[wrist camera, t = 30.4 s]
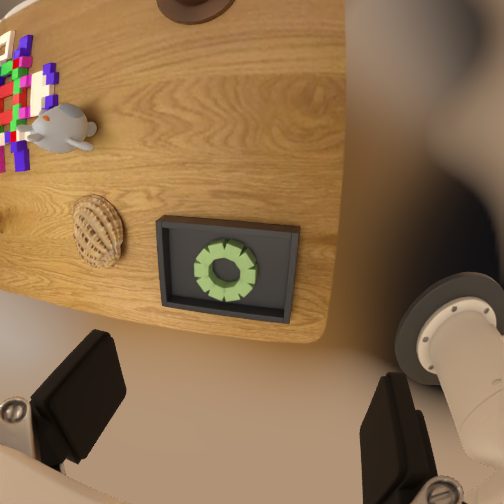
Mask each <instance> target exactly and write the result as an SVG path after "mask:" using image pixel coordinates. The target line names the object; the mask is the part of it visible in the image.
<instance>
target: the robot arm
mask: <svg viewBox="0 0 504 504" xmlns="http://www.w3.org/2000/svg"><path fill="white" fill-rule="evenodd" d="M416 351H417V355H418V358H419V361H420V363H421V365H422V366H423V367H424V368H425V369H426V370H427V371H429V372H431V373H434V374H437V376H438V379H439V381H440V384H441V386H442V389H443V392H444V394H445V397H446V400H447V402H448V405H449V408H450V411H451V414H452V416H453V419H454V422H455V425H456V428H457V431H458V434H459V438H460V440H461V443H462V446H463V448H464V451H465V452H466V454H467V455H468V456H469V457H470V458H471V459H472V460H474V461H475V462H477V463H480V464H483V465H487V466H491V467H495V472H494V473H493V474H492V475H491V476H490V477H489V478H488V479H486V480H485V481H483V482H482V483H481V484H480V485H478V486H476V487H475V488H473V489H472V490H470V491H468V492H467V493H465V494H464V492H463V489H462V486H461V485H460V483H458V481H456V480H455V479H454V478H451V477H449V476H438V474H437V469H436V465H435V460H434V456H433V452H432V448H431V443H430V439H429V435H428V431H427V427H426V424H425V420H424V416H423V414H422V412H421V411H420V410H415V407H414V403H413V399H412V396H411V392H410V389H409V385H408V382H407V378H406V375H405V373H397V372H388V373H387V374H386V376H382V377H381V378H380V381H379V383H378V386H377V388H376V391H375V394H374V396H373V398H372V401H371V404H370V406H369V408H368V411H367V413H366V415H365V418H364V420H363V422H362V425H361V428H360V446H361V463H362V486H363V504H504V335H502V336H501V334H500V333H499V332H498V330H497V329H496V316H495V313H494V311H493V309H492V308H491V307H490V305H489V304H488V303H487V302H486V301H484V300H483V299H481V298H478V297H471V296H467V297H461V298H458V299H454V300H452V301H450V302H448V303H446V304H444V305H443V306H442V307H440V308H439V309H437V310H436V311H435V312H434V313H433V314H432V315H431V316H430V317H429V319H428V320H427V321H426V322H425V324H424V326H423V327H422V329H421V331H420V333H419V336H418V339H417V344H416ZM125 395H126V386H125V382H124V379H123V375H122V371H121V367H120V363H119V360H118V355H117V351H116V347H115V343H114V339H113V338H112V337H111V336H110V334H109V333H108V332H104V331H100V330H96V329H94V330H92V332H90V334H88V335H87V336H86V337H85V339H84V340H83V341H82V342H81V343H80V344H79V345H78V346H77V347H76V348H75V349H74V350H73V351H72V352H71V353H70V354H69V355H68V356H67V357H66V359H65V360H64V361H63V362H62V363H61V364H60V365H59V366H58V367H57V368H56V369H55V370H54V371H53V373H52V374H51V375H50V376H49V377H48V378H47V379H46V380H45V381H44V382H43V384H42V385H41V386H40V387H39V388H38V389H37V390H36V391H35V393H34V394H33V395H32V396H31V399H32V400H31V401H30V402H28V401H27V400H26V399H24V398H22V397H11V398H8V399H6V400H4V401H3V402H2V403H1V404H0V504H130V503H127V502H125V501H122V500H119V499H117V498H114V497H112V496H109V495H107V494H104V493H102V492H100V491H98V490H95V489H93V488H91V487H88V486H87V485H84V484H82V483H80V482H78V481H76V480H74V479H72V478H70V477H68V476H66V474H65V469H64V464H63V462H64V460H65V459H66V458H67V459H68V460H70V461H72V462H74V463H76V464H79V462H80V461H81V459H85V458H86V457H87V456H88V454H89V452H90V451H91V449H92V447H93V446H94V444H95V443H96V441H97V440H98V438H99V437H100V435H101V433H102V432H103V430H104V429H105V427H106V426H107V424H108V422H109V421H110V419H111V418H112V416H113V415H114V413H115V412H116V410H117V408H118V407H119V405H120V404H121V402H122V401H123V399H124V398H125Z"/></svg>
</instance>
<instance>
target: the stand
mask: <svg viewBox="0 0 504 504" xmlns="http://www.w3.org/2000/svg"><path fill="white" fill-rule="evenodd" d="M233 2H234V0H157V5H158V7H159V9H160V11H161V12H162V13H163V14H164V15H165V16H166V17H168V18H169V19H171V20H172V21H174V22H177V23H181V24H189V25H190V24H200V23H204V22H207V21H210V20H212V19H214V18H216V17H218V16H219V15H221V14H222V13H223V12H225V11H226V10H227V9H228V8H229V7H230V6H231V4H232V3H233Z"/></svg>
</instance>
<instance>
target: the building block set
mask: <svg viewBox="0 0 504 504" xmlns="http://www.w3.org/2000/svg"><path fill="white" fill-rule="evenodd" d="M14 37H15V31H12V30H11V31H9V32H7V33H5V34H4V35H2V36H0V48H1V47H2V46H4V45H6V49H5V54H4V55H2V56H0V173H1V172H5V161H4V145H7V144H10V142H11V153H14V157H15V172H19V171H26V170H30V166H29V149H28V150H27V143H26V141H27V142H30V141H29V140H28V139H27V136H28V135H30V132H19V131H18V130H16V127H17V126H18V125H22V124H23V125H26V119H28V118H32V117H36V116H38V114H39V112H40V111H41V110H43V109H46V110H50V109H52V108H54V106H58V95H54V85H55V84H58V82H59V73H57V72H55V68H56V63H48V64H45V65H43V70H42V71H39V72H37V73H34V74H31V75H27V71H28V68H30V67H31V66H32V57H29V55H30V54H31V46H32V38H33V35H26V36H24V37H22V38H20V41H19V48H18V49H17V50H14V57H13V61H8V62H6V61H7V60H9V59H11V58H12V52H13V44H14ZM10 74H12V80H14V81H12V82H10V83H7V84H5V85H4V81H5V78H7V77H9V76H10ZM29 87H31V103H30V106H28V107H26V98H27V88H29ZM11 95H13V109H12V110H9V111H6V112H3V100H4V98H6V97H8V96H11ZM9 123H10V131H9V132H3V125H6V124H9ZM31 125H32V124H30V126H31Z"/></svg>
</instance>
